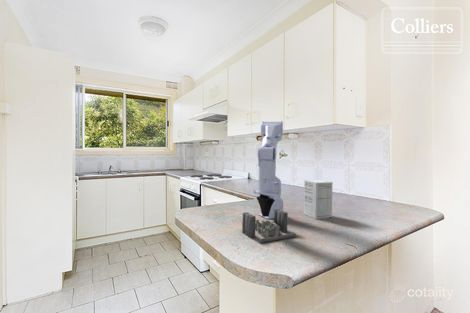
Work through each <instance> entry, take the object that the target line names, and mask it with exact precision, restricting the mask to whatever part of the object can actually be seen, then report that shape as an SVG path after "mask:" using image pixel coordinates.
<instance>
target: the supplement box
mask: <svg viewBox="0 0 470 313" xmlns="http://www.w3.org/2000/svg"><path fill="white" fill-rule="evenodd" d="M303 184H304V187H303V188H304V189H303V193H304V194H303V195H304V196H303V215H305V216H307V217H309V218H312V219H314V220H322V218H323V219H330V218H329V217H333V216H332V215H333V182H332V181H328V180H323V179H309V180H308V179H305V180H304V183H303Z"/></svg>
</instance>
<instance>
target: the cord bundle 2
mask: <svg viewBox="0 0 470 313" xmlns="http://www.w3.org/2000/svg"><path fill="white" fill-rule="evenodd" d="M288 216H289V214H288V212H287V211H284V210H283V211H280V210H279V209H274V218H273V222H274V223H275V224H277V225H278V226H279V227H280V228H279V232H281V233H287V232H288Z"/></svg>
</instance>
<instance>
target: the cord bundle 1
mask: <svg viewBox="0 0 470 313" xmlns="http://www.w3.org/2000/svg"><path fill="white" fill-rule="evenodd" d="M256 218H257V217H256V215H253V214H252V213H249V212H242V222H241V223H242V225H241V226H242V227H241V228H242V230H241V233H242V234H244V235H245V236H247V237H248V238H250V239H254V238H256V230H255V223H256V220H257V219H256Z"/></svg>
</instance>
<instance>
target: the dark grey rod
mask: <svg viewBox="0 0 470 313" xmlns="http://www.w3.org/2000/svg"><path fill="white" fill-rule="evenodd" d="M296 235H297V234H296V233H294V232H292V233H287V234H282V235H278V236H269V237H263V238H260V239H259V240H258V243H259V244H262V243H267V242H269V243H270V242H274V241H279V240H284V239H290V238H296Z"/></svg>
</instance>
